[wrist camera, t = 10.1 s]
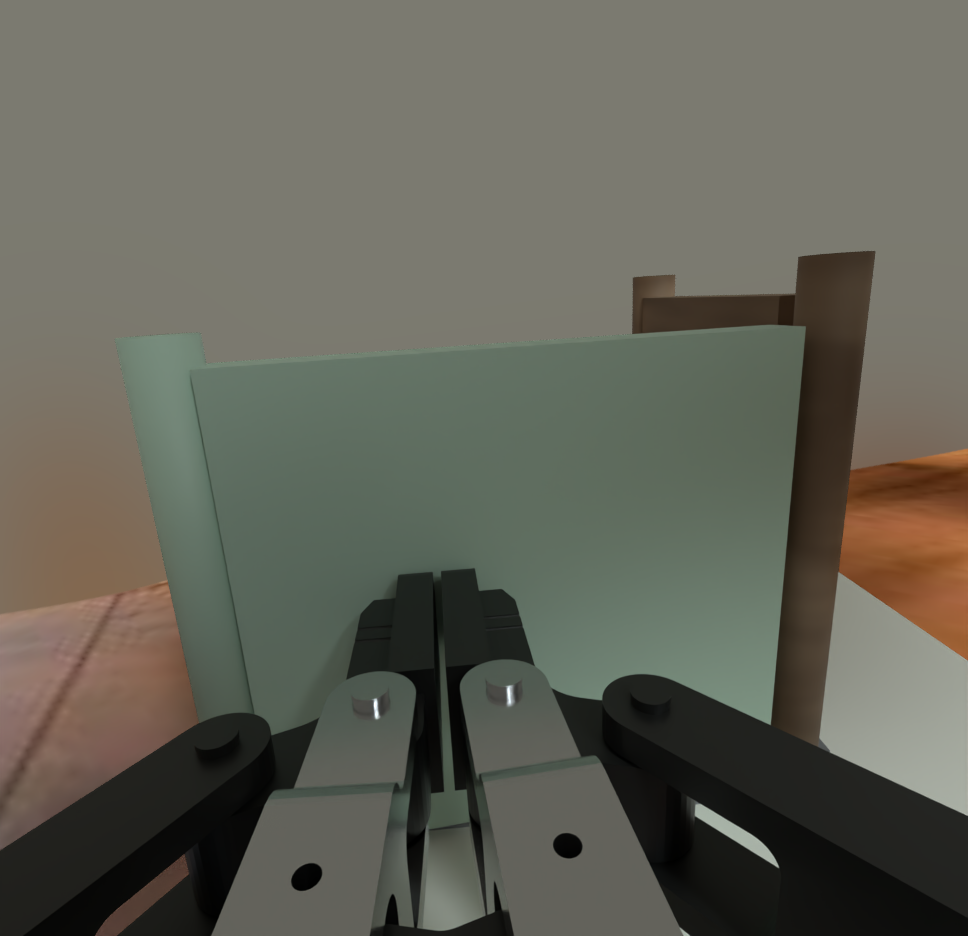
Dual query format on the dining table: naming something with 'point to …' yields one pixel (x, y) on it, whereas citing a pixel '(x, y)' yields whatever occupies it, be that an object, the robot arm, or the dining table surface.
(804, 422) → the fence fixed
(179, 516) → the fence gate
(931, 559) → the dining table surface
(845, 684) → the card
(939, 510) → the dining table surface
